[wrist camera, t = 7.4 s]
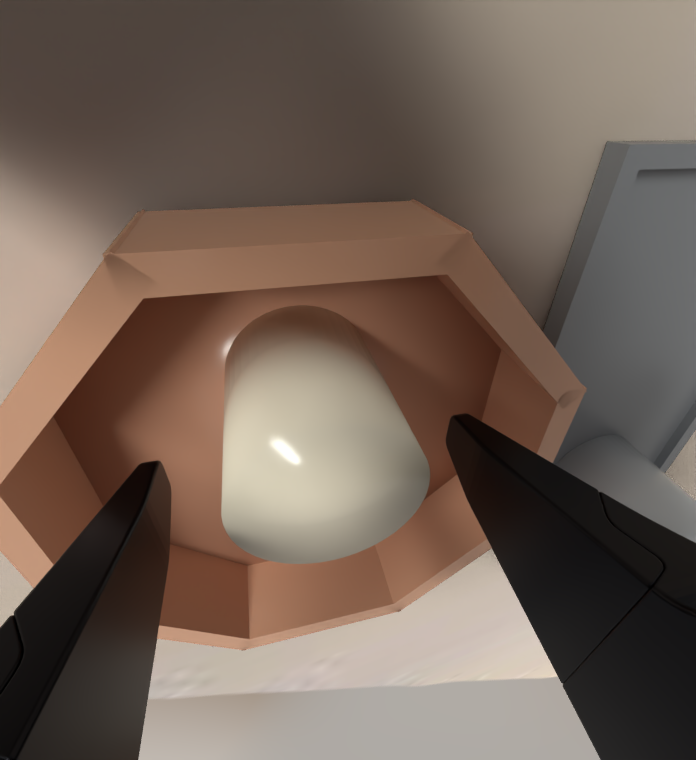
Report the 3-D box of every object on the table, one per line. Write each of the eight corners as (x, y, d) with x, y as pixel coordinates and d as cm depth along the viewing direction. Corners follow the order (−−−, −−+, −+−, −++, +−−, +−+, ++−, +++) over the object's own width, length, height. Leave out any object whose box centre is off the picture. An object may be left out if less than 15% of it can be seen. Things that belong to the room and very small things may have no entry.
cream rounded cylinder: (237, 434, 13) (239, 580, 9) (211, 313, 11) (199, 445, 7) (365, 414, 14) (417, 541, 10) (370, 298, 11) (444, 407, 7)
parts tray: (607, 141, 11) (630, 144, 10) (867, 139, 13) (900, 141, 12) (476, 527, 21) (483, 541, 21) (630, 494, 23) (641, 505, 23)
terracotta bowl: (-89, 211, 8) (-255, 271, 6) (557, 188, 11) (666, 219, 9) (135, 587, 18) (116, 682, 15) (460, 519, 21) (497, 587, 18)
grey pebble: (563, 442, 18) (656, 540, 14) (643, 428, 19) (752, 516, 15) (536, 503, 21) (607, 600, 17) (607, 488, 21) (691, 577, 18)
